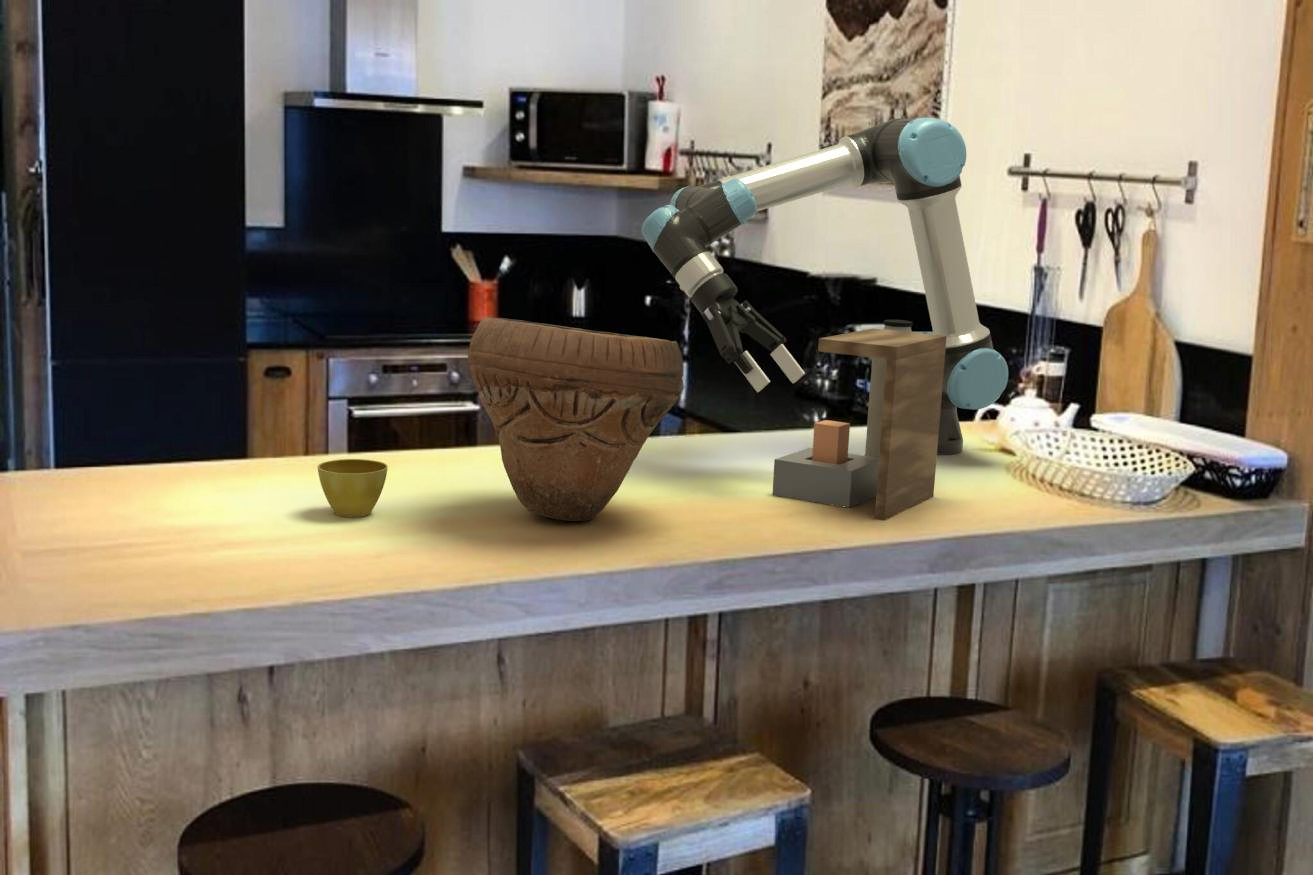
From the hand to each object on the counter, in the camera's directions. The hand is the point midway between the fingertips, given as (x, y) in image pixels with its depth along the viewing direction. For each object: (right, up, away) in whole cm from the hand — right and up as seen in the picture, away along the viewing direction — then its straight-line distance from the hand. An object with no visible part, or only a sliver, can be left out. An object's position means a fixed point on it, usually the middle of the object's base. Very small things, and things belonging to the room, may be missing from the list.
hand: (782, 382), depth 247 cm
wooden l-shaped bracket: (+14, -20, -5) cm, 25 cm away
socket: (+7, -19, -1) cm, 20 cm away
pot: (-34, -21, -24) cm, 46 cm away
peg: (+7, -19, -1) cm, 20 cm away
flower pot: (-66, -21, -29) cm, 75 cm away
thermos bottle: (+19, -17, +13) cm, 29 cm away
